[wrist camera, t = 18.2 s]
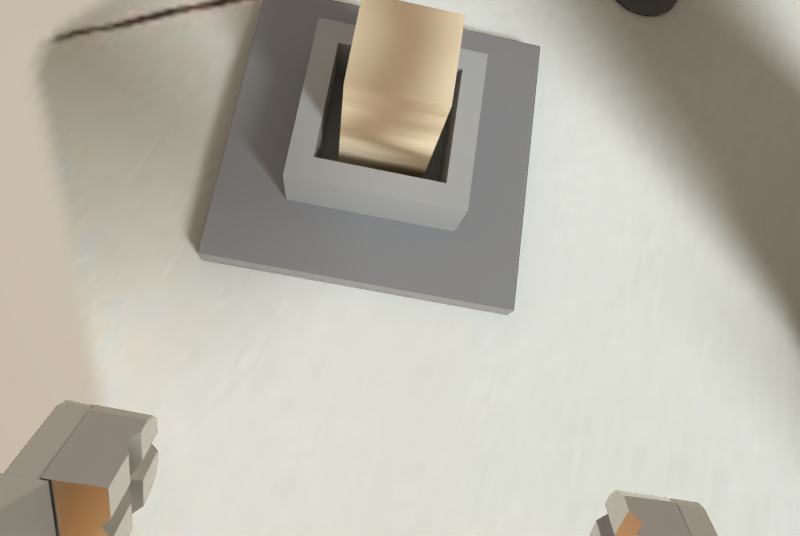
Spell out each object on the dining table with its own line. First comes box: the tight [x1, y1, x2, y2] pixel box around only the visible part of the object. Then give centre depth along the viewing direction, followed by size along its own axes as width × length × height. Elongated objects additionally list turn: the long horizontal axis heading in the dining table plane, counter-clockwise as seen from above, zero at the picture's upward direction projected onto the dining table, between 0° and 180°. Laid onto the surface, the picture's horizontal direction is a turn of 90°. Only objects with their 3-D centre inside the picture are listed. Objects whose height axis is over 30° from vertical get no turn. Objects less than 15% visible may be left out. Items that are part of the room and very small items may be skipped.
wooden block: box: [338, 0, 465, 178], centre depth 28 cm, size 4×4×8 cm
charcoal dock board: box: [198, 0, 540, 315], centre depth 31 cm, size 16×16×4 cm
